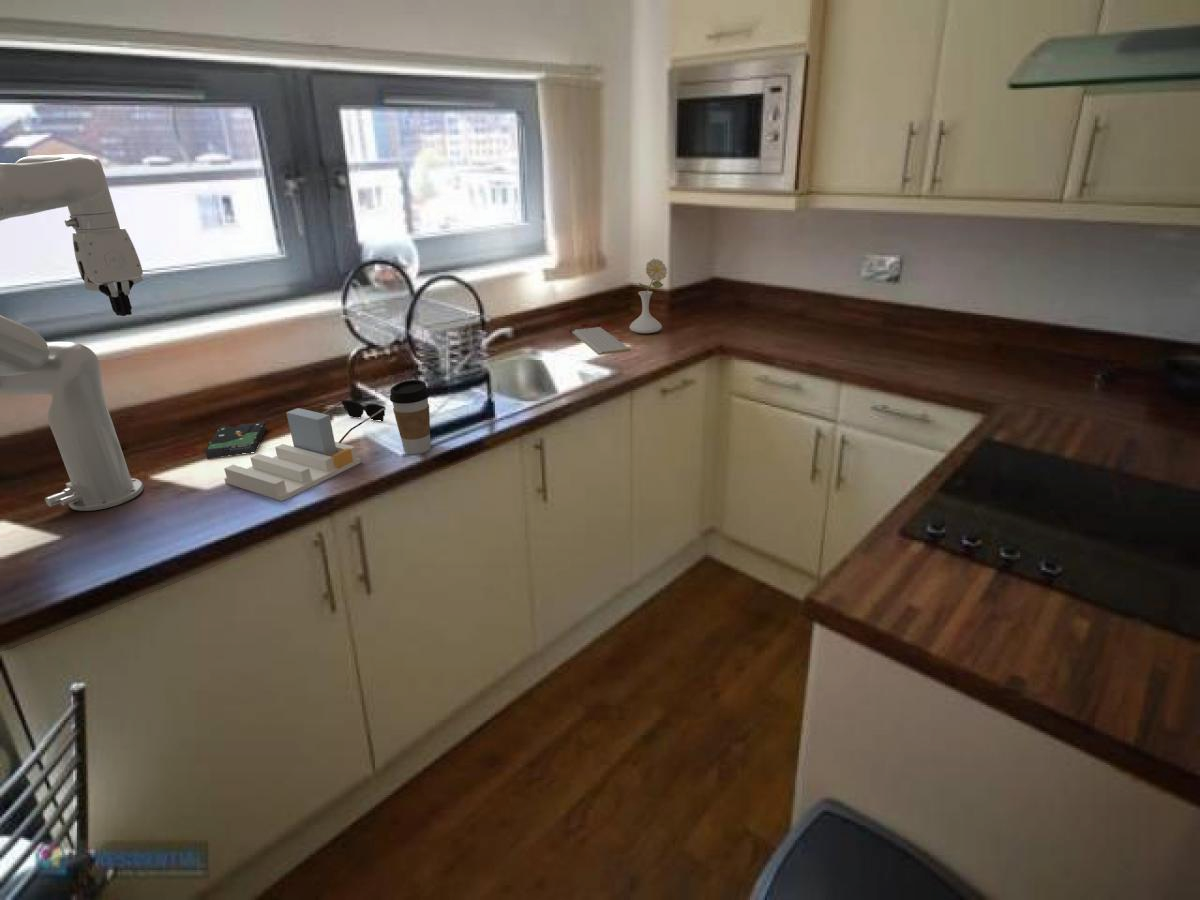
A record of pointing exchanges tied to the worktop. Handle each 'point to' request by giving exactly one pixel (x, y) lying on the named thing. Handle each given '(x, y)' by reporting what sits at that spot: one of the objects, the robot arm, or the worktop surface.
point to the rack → (290, 470)
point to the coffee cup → (412, 415)
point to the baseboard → (599, 340)
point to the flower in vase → (645, 320)
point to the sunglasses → (361, 412)
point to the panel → (311, 431)
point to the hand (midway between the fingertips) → (124, 314)
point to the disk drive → (235, 440)
